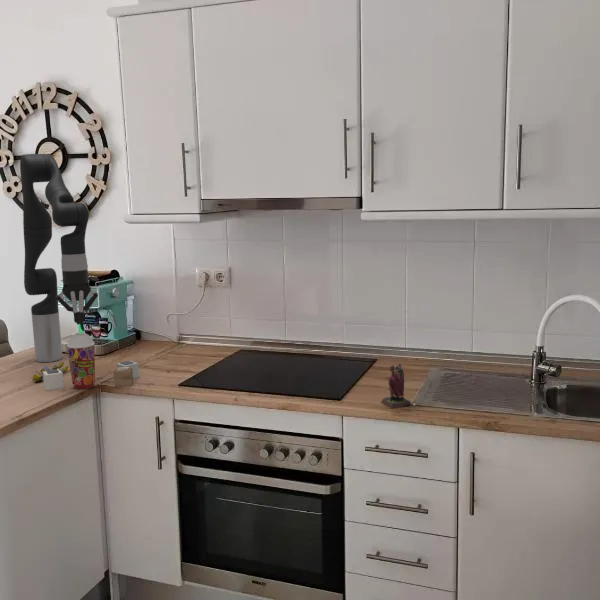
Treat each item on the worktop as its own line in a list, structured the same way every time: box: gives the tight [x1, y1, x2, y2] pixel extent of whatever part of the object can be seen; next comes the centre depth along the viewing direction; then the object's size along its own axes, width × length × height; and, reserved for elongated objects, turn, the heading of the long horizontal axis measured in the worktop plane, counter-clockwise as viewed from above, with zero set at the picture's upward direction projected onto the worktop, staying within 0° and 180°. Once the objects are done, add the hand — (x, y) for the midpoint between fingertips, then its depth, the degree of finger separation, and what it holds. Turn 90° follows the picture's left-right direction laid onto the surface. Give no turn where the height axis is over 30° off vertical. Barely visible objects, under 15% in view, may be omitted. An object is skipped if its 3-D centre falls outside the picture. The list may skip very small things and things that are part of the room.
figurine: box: [381, 363, 412, 410], centre depth 195 cm, size 6×6×12 cm
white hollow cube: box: [42, 369, 64, 392], centre depth 220 cm, size 5×5×5 cm
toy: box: [32, 361, 70, 383], centre depth 231 cm, size 5×5×15 cm
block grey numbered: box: [115, 360, 140, 380], centre depth 228 cm, size 5×5×5 cm
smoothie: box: [66, 324, 96, 390], centre depth 219 cm, size 8×8×20 cm
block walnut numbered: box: [113, 367, 134, 388], centre depth 221 cm, size 5×5×5 cm
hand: (79, 323), depth 217 cm, fingers closed
